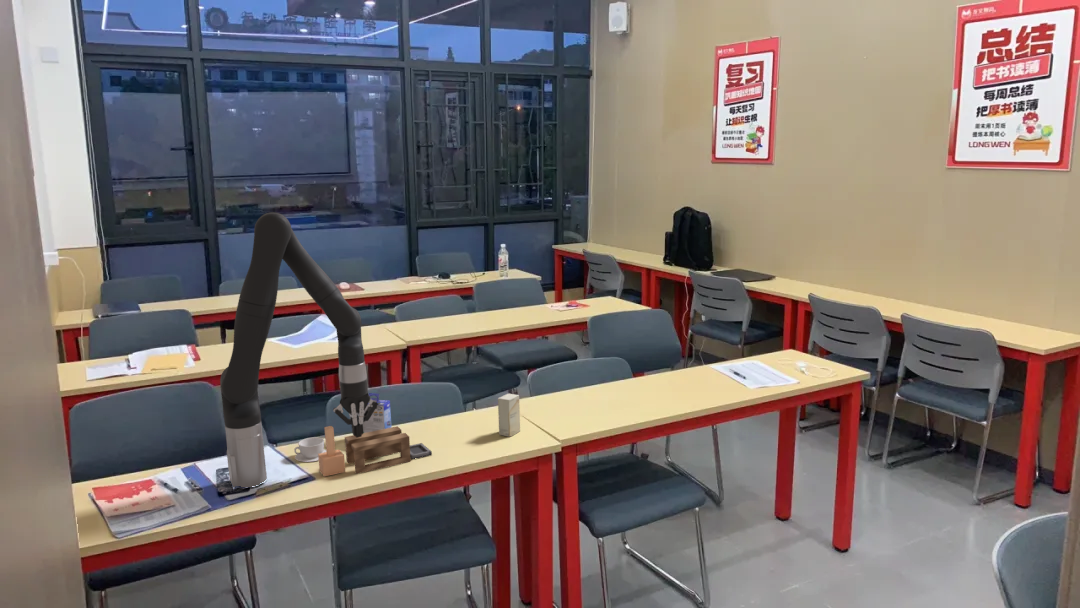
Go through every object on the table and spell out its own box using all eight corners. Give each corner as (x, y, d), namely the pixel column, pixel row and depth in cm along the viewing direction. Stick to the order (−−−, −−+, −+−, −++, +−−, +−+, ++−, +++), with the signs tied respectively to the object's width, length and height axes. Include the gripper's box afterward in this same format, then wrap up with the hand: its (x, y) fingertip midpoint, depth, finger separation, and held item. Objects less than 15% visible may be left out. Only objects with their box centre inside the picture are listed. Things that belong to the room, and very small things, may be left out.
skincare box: (510, 437, 240) (508, 400, 238) (498, 435, 243) (497, 398, 240) (520, 431, 246) (519, 394, 243) (509, 428, 248) (508, 392, 246)
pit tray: (412, 459, 225) (412, 455, 224) (403, 450, 232) (402, 447, 231) (431, 455, 228) (431, 451, 227) (421, 446, 234) (421, 442, 234)
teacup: (324, 447, 236) (323, 433, 235) (333, 458, 227) (332, 443, 226) (291, 454, 231) (290, 440, 230) (299, 465, 223) (297, 450, 222)
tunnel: (356, 473, 216) (354, 447, 214) (346, 461, 224) (344, 437, 223) (410, 461, 223) (409, 436, 222) (398, 450, 232) (397, 426, 230)
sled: (324, 476, 213) (320, 432, 211) (319, 470, 218) (315, 426, 215) (345, 471, 216) (342, 428, 214) (340, 465, 221) (337, 422, 218)
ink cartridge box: (393, 436, 244) (390, 392, 241) (386, 442, 238) (383, 398, 235) (364, 434, 246) (361, 391, 243) (356, 441, 240) (353, 397, 237)
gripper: (333, 385, 209) (338, 445, 213) (380, 377, 216) (384, 435, 219) (326, 379, 216) (331, 437, 219) (371, 371, 222) (376, 427, 226)
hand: (358, 436), depth 219 cm, fingers closed
